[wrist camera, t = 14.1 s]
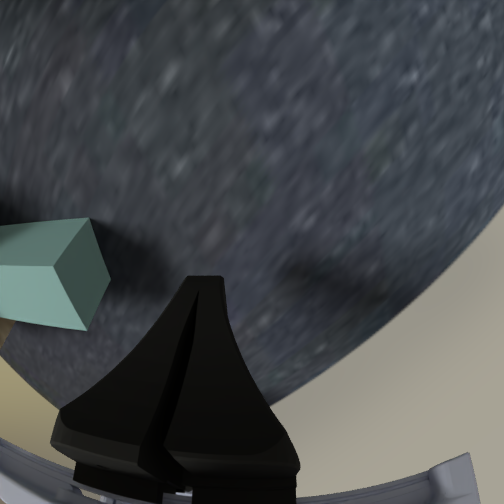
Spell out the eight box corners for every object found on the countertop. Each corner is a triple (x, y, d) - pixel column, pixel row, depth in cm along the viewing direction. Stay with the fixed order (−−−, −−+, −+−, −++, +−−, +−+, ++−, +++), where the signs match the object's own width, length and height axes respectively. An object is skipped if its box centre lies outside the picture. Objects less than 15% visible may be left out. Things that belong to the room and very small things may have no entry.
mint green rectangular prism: (112, 276, 16) (87, 330, 12) (-11, 272, 16) (-37, 308, 13) (91, 214, 13) (52, 266, 10) (-33, 228, 13) (-64, 263, 10)
